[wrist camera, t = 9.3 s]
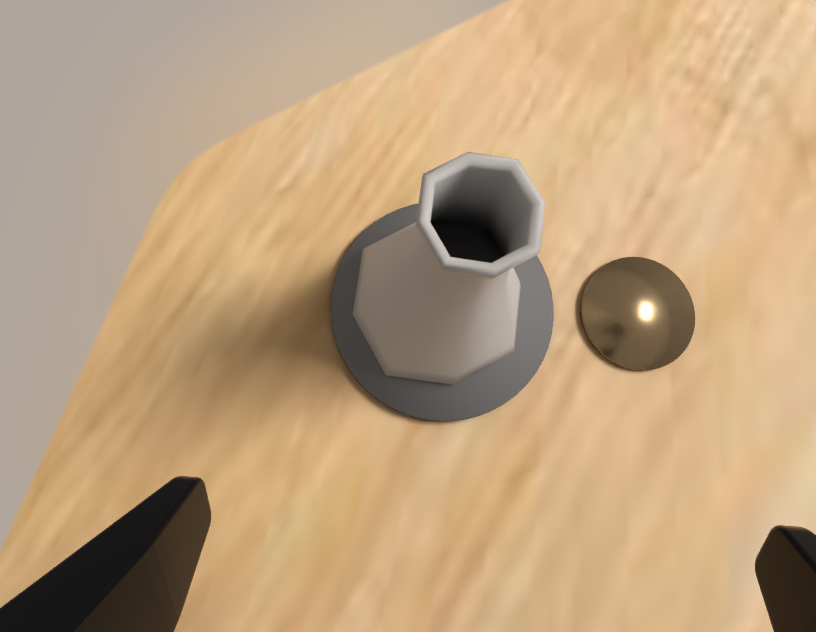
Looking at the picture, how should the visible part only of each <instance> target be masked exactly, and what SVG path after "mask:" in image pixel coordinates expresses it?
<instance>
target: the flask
mask: <svg viewBox="0 0 816 632" xmlns="http://www.w3.org/2000/svg"><path fill="white" fill-rule="evenodd" d="M544 206H545V202H544V200H543V198H542V197H541V195H540V194H539V192H538V190H537V189H536V187H535V186H534V184H533V182H532V181H531V179H530V178H529V176H528V174H527V173H526V171H525V170H524V168H523V166H522V165H521V163H520V162H519V160H518V159H511V158H505V157H498V156H492V155H485V154H479V153H472V152H467V153H465V154H463V155H461V156H459V157H457V158H455V159H453V160H451V161H449V162H447V163H445V164H443V165H441V166H439V167H437V168H434V169H432V170H430V171H428V172H426V173H424V174H423V177H422V183H421V190H420V197H419V204H418V212H417V219H416V222H415V223H413V224H411V225H409V226H407V227H405V228H403V229H401V230H399V231H397V232H395V233H393V234H391V235H389V236H387V237H385V238H383V239H381V240H380V241H378V242H376V243H374V244H372V245H370V246H368V247H366V248H364V249H363V251H362V257H361V264H360V270H359V276H358V283H357V289H356V295H355V301H354V308H353V314H352V315H353V316H354V318H355V320H356V322H357V324H358V326H359V327H360V329H361V331H362V333H363V335H364V337H365V338H366V340H367V342H368V344H369V346H370V348H371V349H372V351H373V353H374V355H375V357H376V359H377V360H378V362H379V364H380V366H381V368H382V370H383V371H384V373H385V375H388V376H395V377H402V378H409V379H416V380H423V381H430V382H437V383H444V384H452V385H456V384H458V383H460V382H461V381H463V380H465V379H467V378H468V377H470V376H472V375H474V374H475V373H477V372H479V371H481V370H482V369H484V368H486V367H488V366H490V365H491V364H493V363H495V362H497V361H498V360H500V359H502V358H504V357H505V356H507V355H509V354H511V353H512V352H514V350H515V340H516V329H517V319H518V309H519V299H520V288H521V284H520V281H519V279H518V277H517V274H516V272H515V270H514V267H516V266H517V265H519V264H521V263H523V262H525V261H527V260H528V259H530V258H532V257H534V256H536V255H538V254H539V252H540V250H541V239H542V228H543V217H544Z"/></svg>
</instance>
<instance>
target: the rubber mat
mask: <svg viewBox="0 0 816 632" xmlns="http://www.w3.org/2000/svg"><path fill="white" fill-rule="evenodd" d="M417 212H418V204H414V205H410V206H407V207H404V208H401V209H398V210H396V211H394V212H392V213H389V214H387V215H385V216H384V217H382V218H381V219H379V220H378V221H376V222H374V223H373V224H372V225H371V226H370V227H368V228H367V229H366V230H365V231H364V232H363V233H362V234H361V235H360V236H359V237H358V238H357V239H356V240H355V241H354V243H353V244H352V246H351V247H350V248H349V250H348V251H347V253H346V254H345V256H344V258H343V260H342V262H341V264H340V266H339V269H338V272H337V274H336V277H335V280H334V285H333V290H332V296H331V322H332V328H333V333H334V337H335V340H336V343H337V346H338V349H339V352H340V354H341V356H342V358H343V360H344V362H345V364H346V365H347V367H348V368H349V370H350V371H351V373H352V374H353V376H354V377H355V378H356V379H357V381H358V382H359V383H360V384H361V385H362V386H363V387H364V388H365V389H366V390H367V391H368V392H369V393H370V394H372V395H373V396H374V397H375V398H376V399H378V400H379V401H381V402H382V403H384V404H385V405H387V406H389V407H391V408H393V409H395V410H397V411H399V412H401V413H404V414H407V415H410V416H413V417H416V418H422V419H427V420H436V421H453V420H463V419H467V418H472V417H476V416H479V415H482V414H484V413H487V412H490V411H492V410H494V409H496V408H497V407H499V406H501V405H503V404H505V403H506V402H507V401H509V400H510V399H511V398H513V397H514V396H516V395H517V394H518V393H519V392H520V391H521V390H522V389H523V388H524V387H525V386H526V385H527V384H528V382H529V381H530V380H531V379H532V377H533V376H534V375H535V373H536V372H537V370H538V368H539V366H540V365H541V363H542V361H543V359H544V357H545V354H546V352H547V349H548V346H549V342H550V339H551V335H552V328H553V300H552V292H551V289H550V285H549V281H548V278H547V275H546V273H545V271H544V268H543V266H542V264H541V262H540V260H539V259H538V257H537V255H536V256H534V257H532V258H530V259H528V260H527V261H525V262H523V263H521V264H519V265H517V266H516V267H514V270H515V272H516V274H517V277H518V279H519V281H520V284H521V288H520V299H519V309H518V319H517V329H516V340H515V350H514V352H512V353H511V354H509V355H507V356H505V357H504V358H502V359H500V360H498V361H497V362H495V363H493V364H491V365H490V366H488V367H486V368H484V369H482V370H481V371H479V372H477V373H475V374H474V375H472V376H470V377H468V378H467V379H465V380H463V381H461V382H460V383H458V384H456V385H452V384H444V383H437V382H430V381H423V380H416V379H409V378H402V377H395V376H388V375H385V373H384V371H383V370H382V368H381V366H380V364H379V362H378V360H377V359H376V357H375V355H374V353H373V351H372V349H371V348H370V346H369V344H368V342H367V340H366V338H365V337H364V335H363V333H362V331H361V329H360V327H359V326H358V324H357V322H356V320H355V318H354V316H353V315H352V314H353V308H354V301H355V295H356V289H357V283H358V276H359V270H360V264H361V257H362V251H363V249H364V248H366V247H368V246H370V245H372V244H374V243H376V242H378V241H380V240H381V239H383V238H385V237H387V236H389V235H391V234H393V233H395V232H397V231H399V230H401V229H403V228H405V227H407V226H409V225H411V224H413V223H415V222H416V219H417Z"/></svg>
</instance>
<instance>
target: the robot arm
mask: <svg viewBox="0 0 816 632" xmlns="http://www.w3.org/2000/svg"><path fill="white" fill-rule="evenodd" d="M210 522H211V509H210V505H209V501H208V496H207V492H206V487H205V484H204V481H203V480H202V479H201V478H198V477H186V476H178V477H176V478H173V479H172V480H170V481H169V482H168V483H166V484H165V485H164V486H162V487H161V488H160V489H158V490H157V491H156V492H154V493H153V494H152V495H150V496H149V497H148V498H146V499H145V500H144V501H142V502H141V503H140V504H138V505H137V506H136V507H134V508H133V509H132V510H130V511H129V512H128V513H126V514H125V515H124V516H122V517H121V518H120V519H118V520H117V521H116V522H114V523H113V524H112V525H110V526H109V527H108V528H106V529H105V530H104V531H102V532H101V533H100V534H98V535H97V536H96V537H94V538H93V539H92V540H90V541H89V542H88V543H86V544H85V545H84V546H82V547H81V548H80V549H78V550H77V551H76V552H74V553H73V554H72V555H70V556H69V557H68V558H66V559H65V560H64V561H62V562H61V563H60V564H58V565H57V566H56V567H54V568H53V569H52V570H50V571H49V572H48V573H46V574H45V575H44V576H42V577H41V578H40V579H38V580H37V581H36V582H34V583H33V584H32V585H30V586H29V587H28V588H26V589H25V590H24V591H22V592H21V593H20V594H18V595H17V596H16V597H14V598H13V599H12V600H10V601H9V602H8V603H6V604H5V605H4V606H2V607H1V608H0V632H174V630H175V627H176V625H177V623H178V620H179V617H180V615H181V612H182V609H183V606H184V603H185V600H186V597H187V594H188V591H189V588H190V585H191V582H192V579H193V576H194V573H195V570H196V566H197V563H198V560H199V557H200V554H201V551H202V548H203V545H204V542H205V539H206V536H207V533H208V530H209V527H210ZM755 572H756V576H757V580H758V583H759V586H760V589H761V592H762V596H763V599H764V602H765V605H766V608H767V611H768V614H769V618H770V621H771V624H772V627H773V630H774V632H816V535H815V534H814V533H812V532H811V531H809V530H807V529H805V528H802V527H795V526H782V525H778V526H775V527H774V528H772V529H771V531H770V533H769V534H768V536H767V538H766V540H765V542H764V544H763V546H762V548H761V550H760V552H759V553H758V555H757V558H756V561H755Z"/></svg>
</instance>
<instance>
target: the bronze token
mask: <svg viewBox="0 0 816 632" xmlns="http://www.w3.org/2000/svg"><path fill="white" fill-rule="evenodd" d="M581 319H582V324H583V327H584V330H585V332H586V335H587V337H588V338H589V340H590V342H591V343H592V345H593V346H594V347H595V349H596V350H597V351H598V352H599V353H600V354H601V355H603V356H604V357H605V358H606V359H608V360H609V361H611V362H613V363H614V364H617V365H619V366H621V367H624V368H627V369H632V370H652V369H656V368H660V367H663V366H665V365H667V364H669V363H671V362H673V361H674V360H675V359H677V358H678V357H679V356H680V355H681V354H682V353H683V352H684V350H685V349H686V348H687V346H688V344H689V342H690V340H691V338H692V335H693V331H694V327H695V311H694V306H693V302H692V299H691V296H690V294H689V292H688V290H687V288H686V287H685V285H684V284H683V282H682V281H681V280H680V279H679V277H678V276H677V275H676V274H675V273H673V272H672V271H671V270H670V269H668V268H667V267H665V266H664V265H662V264H660V263H658V262H656V261H653V260H650V259H646V258H641V257H626V258H621V259H617V260H614V261H612V262H610V263H608V264H606V265H605V266H603V267H602V268H600V269H599V270H598V271H597V272H596V273H595V274H594V275H593V276H592V277H591V278H590V280H589V281H588V283H587V285H586V287H585V289H584V292H583V295H582V299H581Z"/></svg>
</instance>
